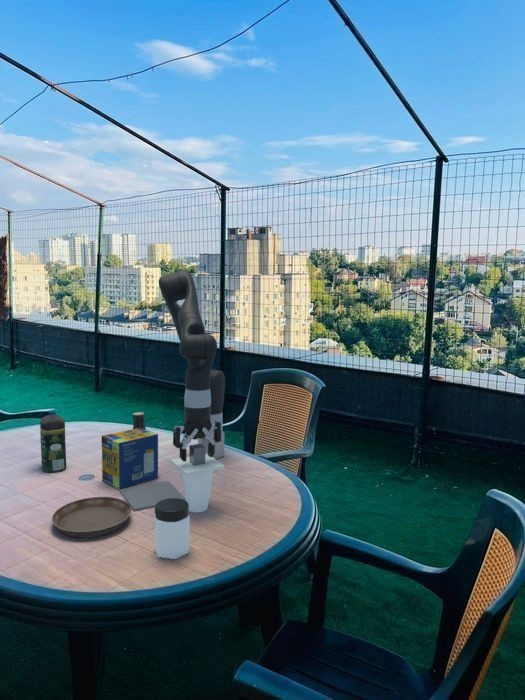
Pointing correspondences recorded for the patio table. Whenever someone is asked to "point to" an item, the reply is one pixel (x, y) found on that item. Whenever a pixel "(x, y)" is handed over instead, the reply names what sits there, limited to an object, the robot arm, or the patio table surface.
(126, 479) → the protein box
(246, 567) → the patio table surface
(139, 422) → the sauce bottle
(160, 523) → the jar
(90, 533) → the plant saucer
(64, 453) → the coffee jar
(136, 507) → the mat
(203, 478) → the foam cup
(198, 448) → the lid
